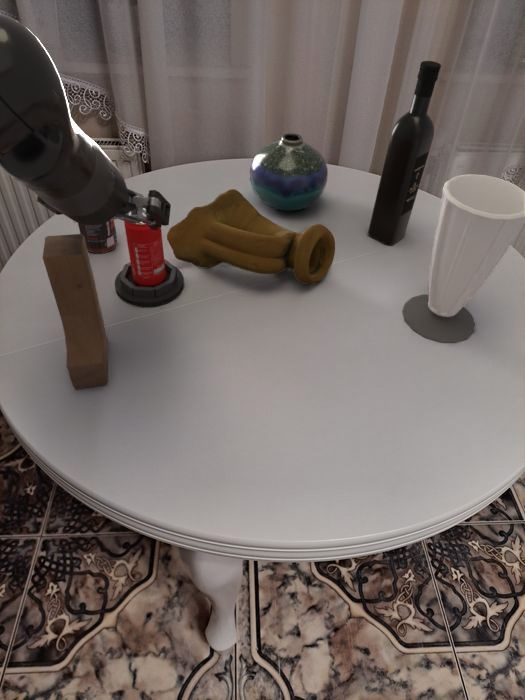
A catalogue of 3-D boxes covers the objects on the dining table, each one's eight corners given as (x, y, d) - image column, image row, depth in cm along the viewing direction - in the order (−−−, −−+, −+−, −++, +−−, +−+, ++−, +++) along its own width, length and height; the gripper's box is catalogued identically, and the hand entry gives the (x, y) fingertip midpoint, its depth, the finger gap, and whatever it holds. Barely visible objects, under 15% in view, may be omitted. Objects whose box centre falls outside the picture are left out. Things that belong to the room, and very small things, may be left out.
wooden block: (108, 385, 68) (82, 277, 55) (73, 390, 67) (38, 281, 54) (108, 339, 74) (83, 232, 61) (75, 343, 73) (44, 235, 60)
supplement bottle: (122, 249, 90) (112, 190, 82) (89, 258, 87) (75, 198, 79) (111, 232, 93) (101, 174, 85) (79, 240, 91) (65, 181, 83)
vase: (233, 203, 103) (234, 137, 94) (277, 176, 112) (282, 114, 103) (295, 230, 97) (303, 163, 88) (337, 200, 106) (348, 136, 97)
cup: (484, 313, 83) (543, 191, 67) (461, 354, 76) (521, 227, 60) (418, 286, 87) (459, 165, 71) (390, 322, 80) (430, 196, 64)
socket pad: (141, 316, 78) (139, 304, 76) (102, 282, 83) (99, 270, 81) (197, 288, 83) (197, 275, 82) (158, 257, 89) (156, 245, 87)
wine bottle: (406, 236, 98) (457, 64, 76) (390, 247, 95) (438, 72, 73) (381, 224, 100) (424, 55, 79) (365, 235, 97) (404, 62, 76)
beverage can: (144, 295, 80) (134, 228, 71) (127, 278, 82) (116, 212, 74) (172, 283, 82) (166, 217, 74) (155, 267, 85) (148, 202, 76)
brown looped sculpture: (241, 182, 94) (345, 205, 83) (235, 251, 99) (332, 281, 88) (167, 185, 80) (280, 214, 69) (165, 265, 86) (269, 303, 74)
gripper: (151, 147, 51) (180, 196, 67) (10, 133, 51) (73, 185, 67) (143, 222, 51) (174, 253, 67) (2, 208, 51) (67, 242, 67)
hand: (123, 219), depth 67 cm, fingers open, 8 cm apart
